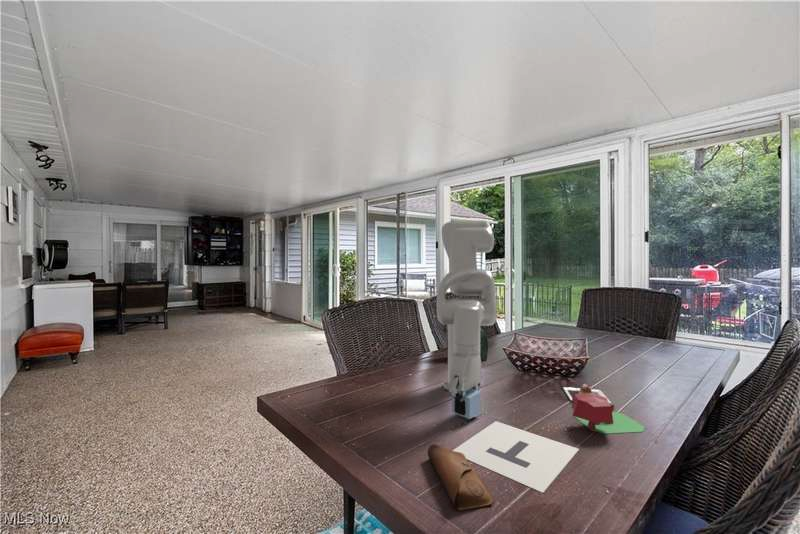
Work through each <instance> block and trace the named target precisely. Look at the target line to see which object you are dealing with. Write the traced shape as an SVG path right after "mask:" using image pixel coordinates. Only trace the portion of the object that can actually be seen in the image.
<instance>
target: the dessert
mask: <svg viewBox="0 0 800 534" xmlns="http://www.w3.org/2000/svg"><path fill="white" fill-rule="evenodd" d="M562 388H563V390H564V392H565V393H566V395H567V397H568V398H569V400H570V401H571V402H572V398H573V396H572V395H571V394H570V392H569V391H572V392H573V391H575V392H578V394H590V393H596V394H597V395H599V396H602V397H605V398H607V401H608V402H609V404H610V405H613V404H612V401H610V399H609V398H608V397H607V396H606V395H605V394H604V393H603V392H602V390H601V389H593V388H591V387H590V386H589V385H588V384H586V383H584V384H582V386H580V388H579V387H566V386H563V387H562Z"/></svg>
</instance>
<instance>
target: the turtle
mask: <svg viewBox="0 0 800 534" xmlns="http://www.w3.org/2000/svg"><path fill="white" fill-rule="evenodd" d="M607 398H608V397H607ZM607 398H605V397H602V396H600V395H599V394H598V393H595V392H592V393H590V394H579V393H573V394H572V401H571V403H572V404H571V409H572V411H573V412H572V417H573V418H575V419H576V420H577V421H578V422H580V423H581V424H583V426H585V428H587V429H589V430H590V431H592V432H595V433H596V432H597V433H599V434H604V435H611V434H612V435H613V434H627V433H628V434H635V433H643V432H644V431H645V429H646V426H644V425H642V424H640V423H639V422H637V421H636V420H635V419H632V418H630V417H629V416H628V415H626V414H624V413H620V412H617V411H616V412H615V411H614V410H615V404H609V402H608V401H607Z"/></svg>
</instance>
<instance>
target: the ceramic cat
mask: <svg viewBox="0 0 800 534" xmlns="http://www.w3.org/2000/svg"><path fill="white" fill-rule="evenodd" d="M442 331H443V333H444V334H445V335H446V336H448V327H447V325H446V324H443V330H442ZM486 333H487V332H486V329H485V326H481V327H480V358H481V362H483V361H484V362H485V361H487V359H488V351H489V339H488V338H487V334H486ZM446 359H447V360H448V338H447V340H446Z"/></svg>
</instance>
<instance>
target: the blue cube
mask: <svg viewBox="0 0 800 534" xmlns="http://www.w3.org/2000/svg"><path fill="white" fill-rule="evenodd" d="M459 389H461V388H459ZM458 393H459V394H460V396H461V393H462V392H461V391H459V392H458ZM464 401H465V415H461V414H458V413H456V412H455V399H454V398H453V396H452V395H451V413H453V414H455V415H458V416H461V417H463V418H466V419H468V420H470V419H471V420H472V418H473V417H475V416H477V415H478V414H479V413H481V412H482V391H480V390H479V391H478V390H475V389H472V388H470V389H469V390H467V391H466V392H465V397H464Z"/></svg>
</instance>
